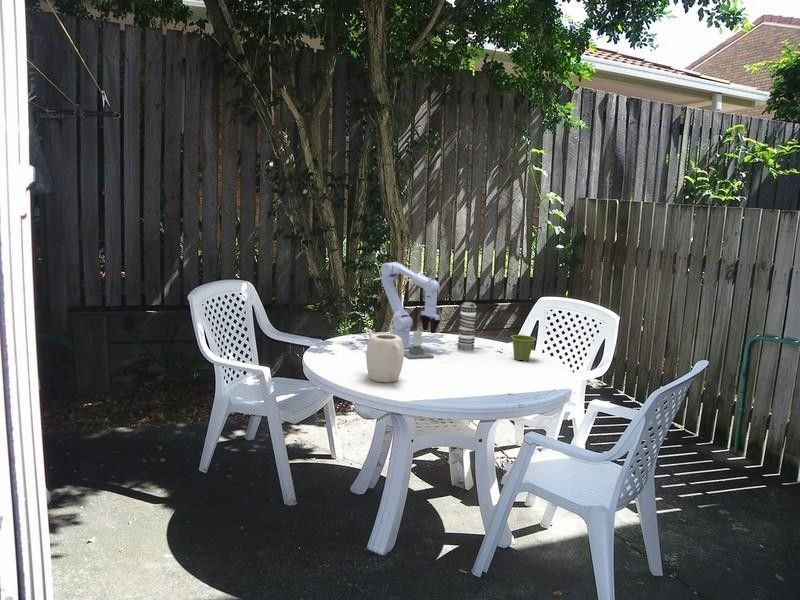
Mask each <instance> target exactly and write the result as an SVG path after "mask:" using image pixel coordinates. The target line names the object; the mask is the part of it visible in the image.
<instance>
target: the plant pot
mask: <svg viewBox="0 0 800 600" xmlns="http://www.w3.org/2000/svg"><path fill="white" fill-rule="evenodd" d="M511 338H512V348H513V349H512V350H513V359H514V360H515V359H516V360H515V361H518V360H523V361H522V362H527V360H528V361H529V360H530V357H531V353H532V349H533V345H534V343H535V341H536V338H535V337H534V336H530V335H526V334H525V335H523V334H514V335H511Z"/></svg>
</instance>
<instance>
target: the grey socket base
mask: <svg viewBox="0 0 800 600" xmlns="http://www.w3.org/2000/svg"><path fill="white" fill-rule="evenodd" d="M404 358H406V359H408V360H421V359H422V360H423V359H424V360H425V359H434V358H435V356H434V355H432V354H431V353H429V352H428V351H425V348H423V347H422V346H421V347H415V346H413V345H410V346H409V348H408V350H404Z"/></svg>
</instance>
